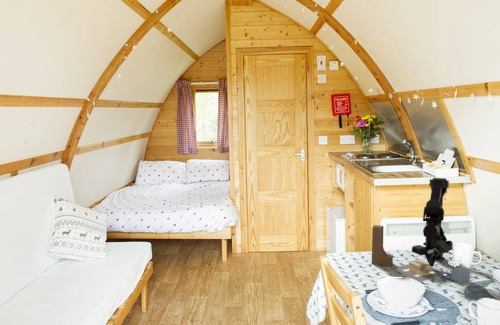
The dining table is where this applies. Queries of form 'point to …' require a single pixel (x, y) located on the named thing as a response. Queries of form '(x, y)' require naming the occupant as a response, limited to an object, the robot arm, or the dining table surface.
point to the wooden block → (379, 248)
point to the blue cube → (460, 275)
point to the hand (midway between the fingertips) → (431, 266)
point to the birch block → (419, 267)
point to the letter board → (422, 277)
